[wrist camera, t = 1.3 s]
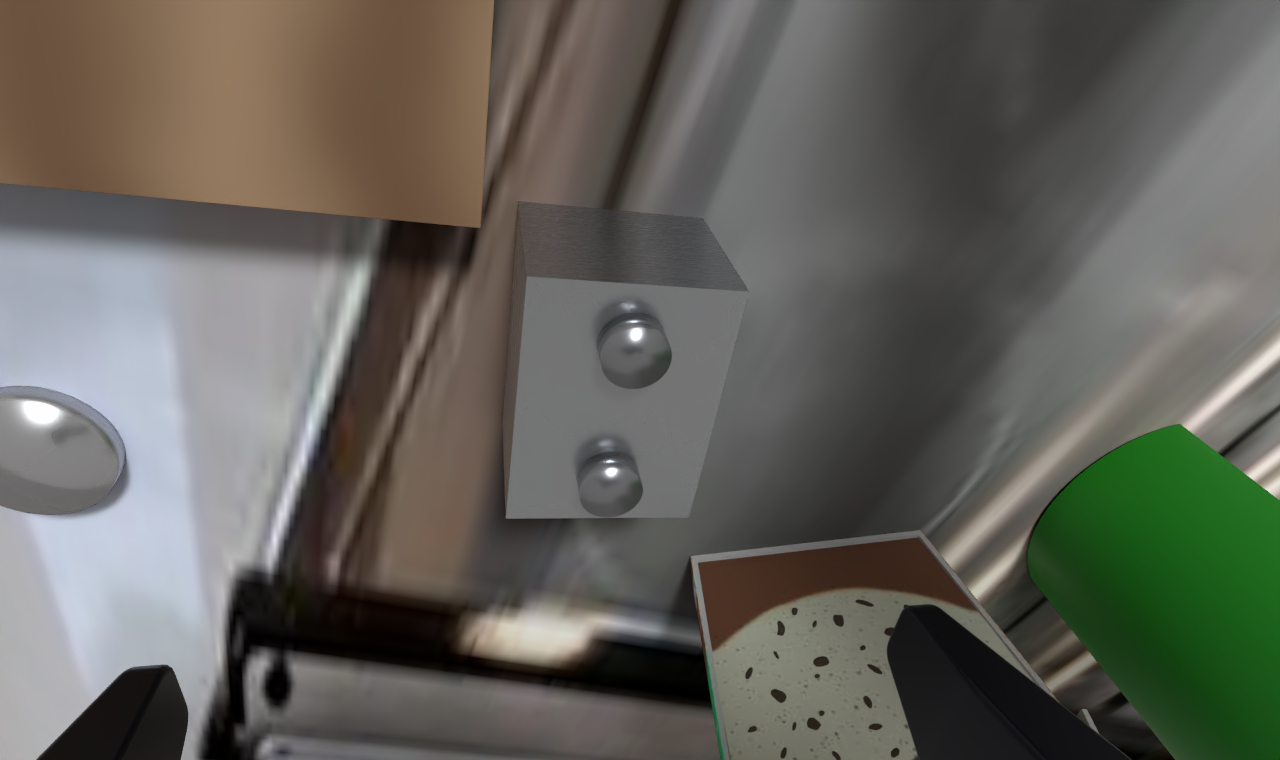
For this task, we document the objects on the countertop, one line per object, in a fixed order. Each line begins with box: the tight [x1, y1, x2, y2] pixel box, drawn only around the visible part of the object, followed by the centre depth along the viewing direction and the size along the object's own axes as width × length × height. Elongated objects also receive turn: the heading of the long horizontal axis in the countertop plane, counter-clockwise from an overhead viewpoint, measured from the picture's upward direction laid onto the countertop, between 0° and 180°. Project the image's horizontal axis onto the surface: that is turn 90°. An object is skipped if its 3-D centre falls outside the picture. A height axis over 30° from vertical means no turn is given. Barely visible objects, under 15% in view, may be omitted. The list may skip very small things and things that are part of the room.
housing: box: [502, 201, 749, 519], centre depth 20 cm, size 5×7×5 cm
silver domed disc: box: [0, 386, 126, 515], centre depth 21 cm, size 4×4×1 cm
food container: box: [690, 530, 1099, 760], centre depth 26 cm, size 12×6×10 cm, turn 88°
